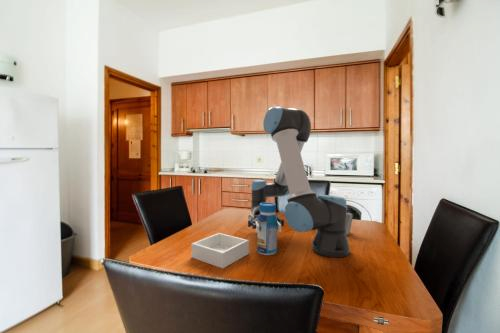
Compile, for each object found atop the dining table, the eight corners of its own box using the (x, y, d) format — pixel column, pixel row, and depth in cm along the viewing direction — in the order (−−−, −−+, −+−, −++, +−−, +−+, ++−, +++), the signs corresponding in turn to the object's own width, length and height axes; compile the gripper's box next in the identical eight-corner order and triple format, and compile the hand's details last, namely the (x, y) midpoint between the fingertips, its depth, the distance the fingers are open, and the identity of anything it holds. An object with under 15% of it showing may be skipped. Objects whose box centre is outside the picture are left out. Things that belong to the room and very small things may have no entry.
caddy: (248, 253, 100) (248, 240, 100) (222, 268, 87) (222, 253, 87) (219, 245, 110) (219, 232, 109) (191, 257, 96) (191, 243, 96)
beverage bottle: (276, 256, 98) (277, 206, 97) (255, 255, 99) (255, 205, 98) (277, 248, 106) (278, 202, 105) (258, 247, 107) (258, 201, 106)
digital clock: (319, 228, 136) (319, 209, 135) (330, 226, 140) (331, 207, 139) (343, 237, 121) (344, 215, 121) (355, 234, 126) (356, 213, 125)
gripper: (282, 221, 121) (295, 237, 98) (239, 222, 119) (242, 239, 96) (282, 206, 121) (295, 219, 98) (239, 207, 119) (242, 219, 96)
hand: (269, 228), depth 97 cm, fingers closed on beverage bottle, 8 cm apart
